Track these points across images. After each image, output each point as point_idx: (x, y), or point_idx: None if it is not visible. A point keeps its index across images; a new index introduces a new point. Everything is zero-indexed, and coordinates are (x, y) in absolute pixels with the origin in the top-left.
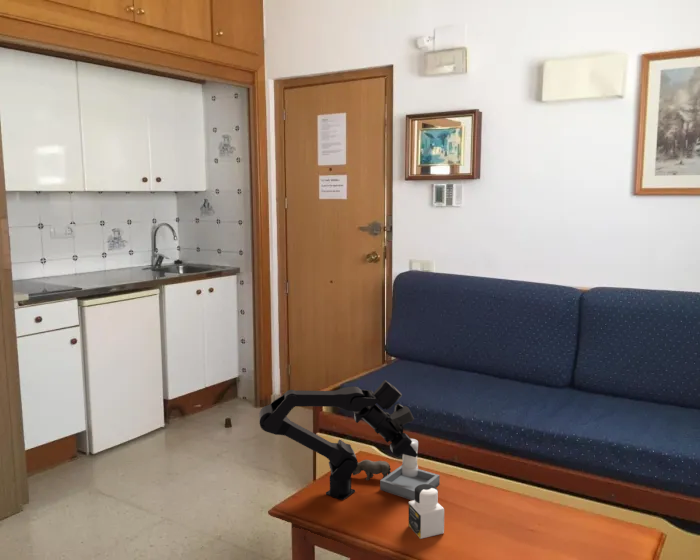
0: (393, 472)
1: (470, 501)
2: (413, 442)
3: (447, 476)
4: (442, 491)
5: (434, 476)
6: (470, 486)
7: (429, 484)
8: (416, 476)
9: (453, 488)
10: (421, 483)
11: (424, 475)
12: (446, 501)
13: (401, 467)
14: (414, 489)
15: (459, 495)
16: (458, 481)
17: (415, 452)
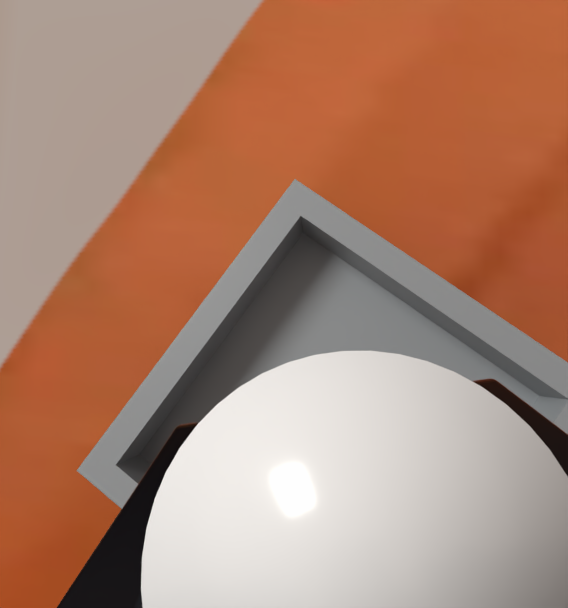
0: None
1: (542, 34)
2: (418, 482)
3: (184, 140)
4: (402, 197)
5: (317, 221)
6: (333, 11)
7: (436, 278)
8: (208, 360)
9: (359, 120)
10: (320, 334)
11: (245, 300)
12: (547, 187)
13: (134, 489)
14: (559, 417)
15: (459, 93)
16: (260, 77)
17: (554, 427)
